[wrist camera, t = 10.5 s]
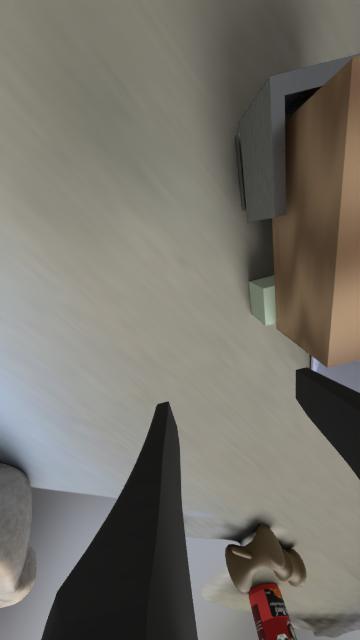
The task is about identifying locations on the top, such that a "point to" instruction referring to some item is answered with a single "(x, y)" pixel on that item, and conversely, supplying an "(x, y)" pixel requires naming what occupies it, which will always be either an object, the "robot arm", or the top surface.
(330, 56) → the top surface
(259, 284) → the block
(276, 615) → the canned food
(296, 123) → the walnut rail
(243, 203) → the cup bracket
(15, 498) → the mortar
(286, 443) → the top surface
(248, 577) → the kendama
